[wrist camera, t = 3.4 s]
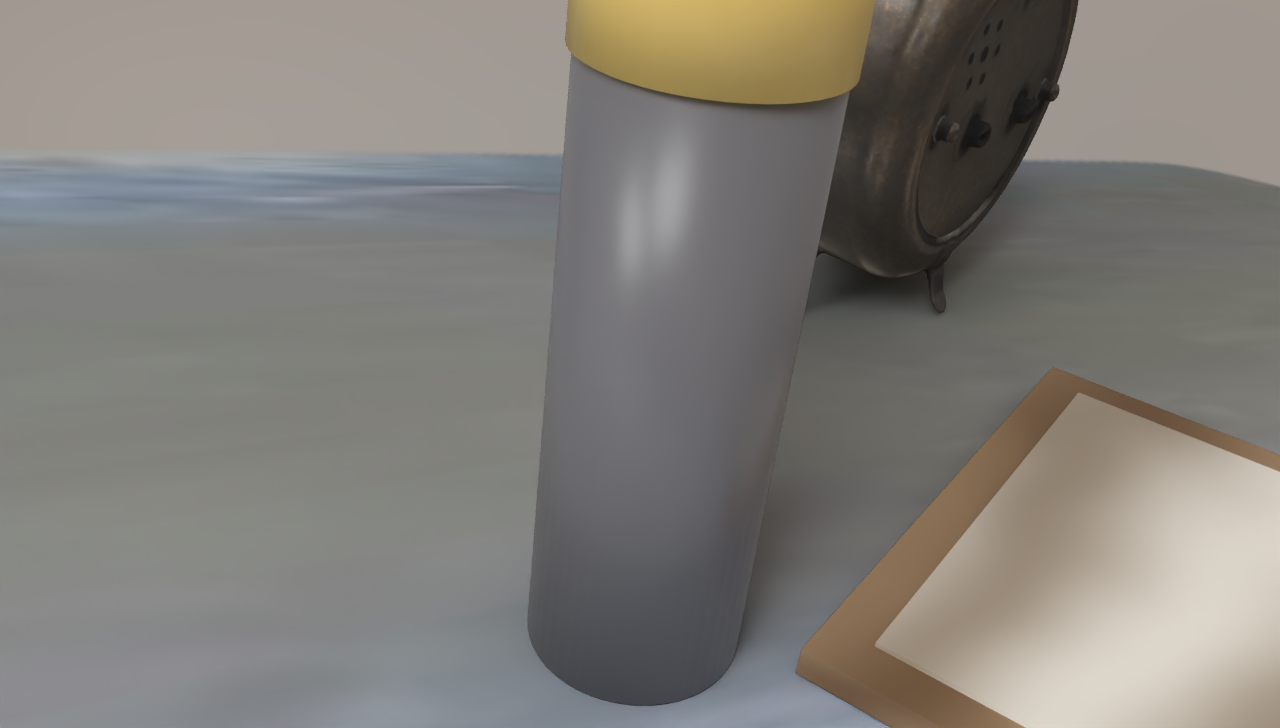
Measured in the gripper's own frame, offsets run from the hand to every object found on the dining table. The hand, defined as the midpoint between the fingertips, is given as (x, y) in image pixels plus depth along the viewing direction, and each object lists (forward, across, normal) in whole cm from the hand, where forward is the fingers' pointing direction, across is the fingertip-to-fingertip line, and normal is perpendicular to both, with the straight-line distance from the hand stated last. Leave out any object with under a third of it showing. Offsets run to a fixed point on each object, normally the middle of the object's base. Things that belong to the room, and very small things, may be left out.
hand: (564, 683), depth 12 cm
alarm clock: (+25, +4, -7) cm, 26 cm away
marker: (+8, 0, -7) cm, 11 cm away
